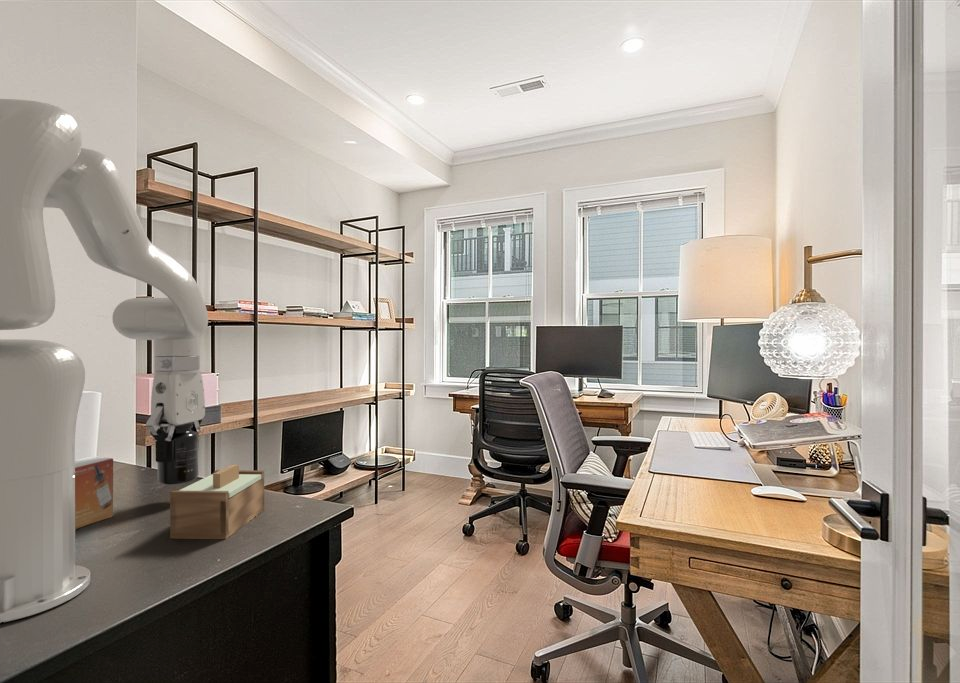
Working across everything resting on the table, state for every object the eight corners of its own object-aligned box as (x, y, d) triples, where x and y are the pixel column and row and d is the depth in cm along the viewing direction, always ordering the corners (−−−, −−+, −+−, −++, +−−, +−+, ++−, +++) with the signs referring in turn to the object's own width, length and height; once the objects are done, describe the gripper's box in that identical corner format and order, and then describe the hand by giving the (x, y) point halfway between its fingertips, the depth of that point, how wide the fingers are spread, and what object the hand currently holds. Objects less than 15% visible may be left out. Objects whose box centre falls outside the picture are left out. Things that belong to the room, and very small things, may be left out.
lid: (229, 497, 78) (229, 478, 78) (174, 497, 79) (174, 477, 79) (261, 478, 89) (261, 461, 89) (213, 478, 90) (212, 460, 89)
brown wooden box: (225, 539, 77) (225, 492, 77) (170, 538, 78) (170, 492, 78) (264, 510, 90) (264, 470, 90) (216, 509, 91) (216, 470, 91)
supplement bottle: (149, 482, 94) (149, 419, 94) (185, 473, 100) (185, 414, 100) (170, 487, 90) (170, 422, 90) (206, 477, 97) (205, 417, 96)
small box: (68, 533, 80) (68, 469, 80) (41, 530, 81) (41, 467, 81) (114, 515, 88) (114, 457, 87) (89, 513, 89) (89, 455, 89)
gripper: (166, 368, 86) (167, 469, 86) (221, 362, 103) (221, 446, 104) (124, 368, 86) (125, 468, 86) (186, 362, 104) (187, 446, 104)
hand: (178, 455), depth 95 cm, fingers closed on supplement bottle, 6 cm apart
